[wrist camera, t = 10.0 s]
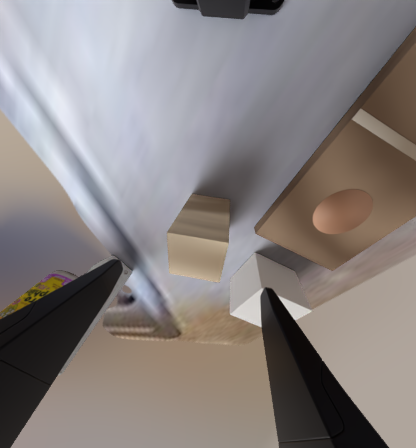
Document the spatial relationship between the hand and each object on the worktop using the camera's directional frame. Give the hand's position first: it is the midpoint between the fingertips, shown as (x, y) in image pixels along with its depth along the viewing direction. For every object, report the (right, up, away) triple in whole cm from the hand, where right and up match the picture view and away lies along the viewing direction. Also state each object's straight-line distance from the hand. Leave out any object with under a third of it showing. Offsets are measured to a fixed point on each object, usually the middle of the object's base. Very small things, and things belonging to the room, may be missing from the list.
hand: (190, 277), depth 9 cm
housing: (+8, -4, +11) cm, 14 cm away
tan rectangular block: (+1, +4, +7) cm, 9 cm away
